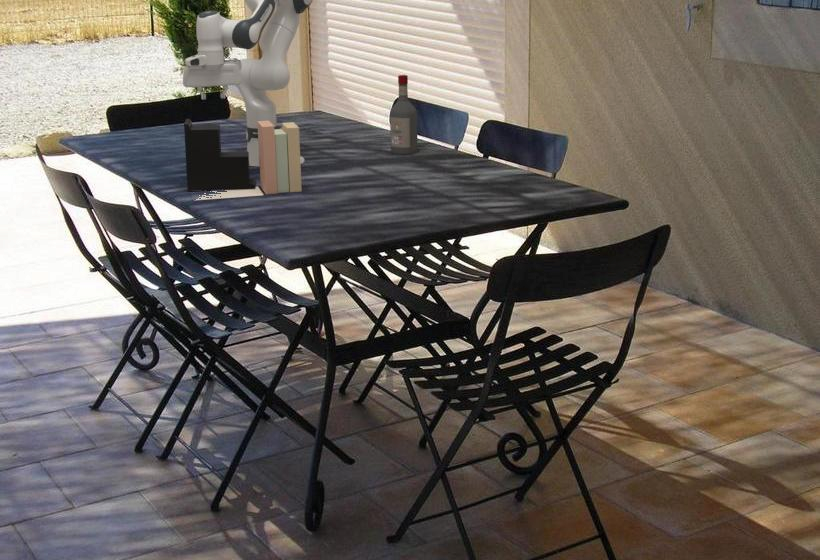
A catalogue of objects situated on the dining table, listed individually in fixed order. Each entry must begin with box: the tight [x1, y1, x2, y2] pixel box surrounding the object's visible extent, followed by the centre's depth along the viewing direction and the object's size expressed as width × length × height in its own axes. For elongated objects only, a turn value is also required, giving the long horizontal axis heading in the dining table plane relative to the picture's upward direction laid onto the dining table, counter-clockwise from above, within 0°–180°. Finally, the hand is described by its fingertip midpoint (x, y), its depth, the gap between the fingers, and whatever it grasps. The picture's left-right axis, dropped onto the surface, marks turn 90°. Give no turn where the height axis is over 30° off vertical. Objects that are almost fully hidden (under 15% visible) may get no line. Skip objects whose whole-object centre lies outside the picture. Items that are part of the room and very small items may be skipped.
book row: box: [257, 121, 303, 195], centre depth 416 cm, size 12×12×23 cm
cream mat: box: [195, 185, 264, 201], centre depth 414 cm, size 24×14×1 cm, turn 105°
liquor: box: [389, 74, 419, 156], centre depth 474 cm, size 9×9×30 cm
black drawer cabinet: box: [183, 118, 257, 191], centre depth 420 cm, size 23×11×24 cm, turn 96°
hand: (213, 98), depth 425 cm, fingers open, 5 cm apart
